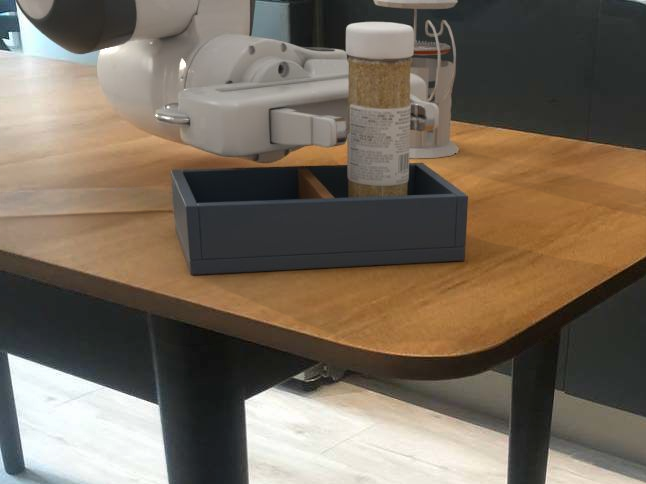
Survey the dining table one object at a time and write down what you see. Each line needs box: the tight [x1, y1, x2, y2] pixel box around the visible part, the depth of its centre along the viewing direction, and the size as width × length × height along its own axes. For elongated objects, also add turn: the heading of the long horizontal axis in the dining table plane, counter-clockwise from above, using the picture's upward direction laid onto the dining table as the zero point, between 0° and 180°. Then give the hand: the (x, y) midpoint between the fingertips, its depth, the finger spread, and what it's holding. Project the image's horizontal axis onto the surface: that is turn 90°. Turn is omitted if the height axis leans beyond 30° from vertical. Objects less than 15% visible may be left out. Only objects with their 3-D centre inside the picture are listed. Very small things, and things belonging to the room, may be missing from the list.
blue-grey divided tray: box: [170, 162, 469, 276], centre depth 77 cm, size 19×11×4 cm, turn 106°
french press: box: [373, 0, 460, 159], centre depth 104 cm, size 10×12×25 cm
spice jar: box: [345, 21, 414, 198], centre depth 76 cm, size 5×5×14 cm
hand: (387, 125), depth 75 cm, fingers open, 8 cm apart
